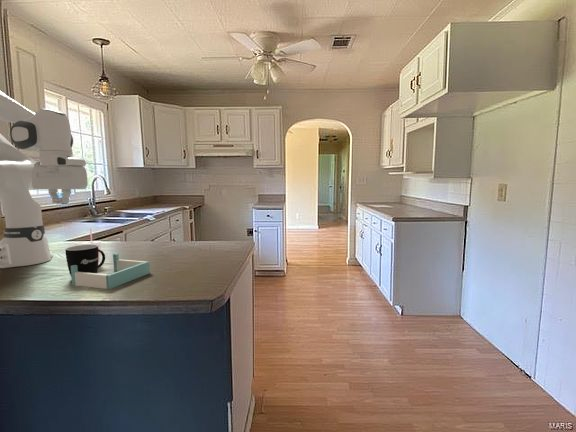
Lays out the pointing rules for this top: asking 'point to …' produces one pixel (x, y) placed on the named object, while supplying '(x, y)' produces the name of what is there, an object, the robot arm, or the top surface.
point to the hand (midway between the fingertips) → (60, 203)
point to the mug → (84, 258)
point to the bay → (125, 273)
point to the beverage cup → (93, 244)
